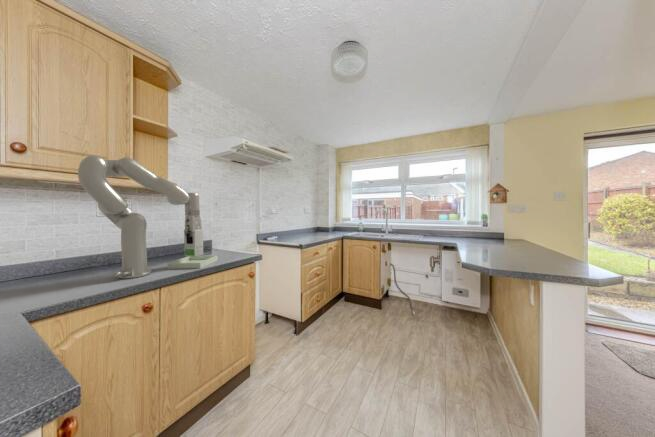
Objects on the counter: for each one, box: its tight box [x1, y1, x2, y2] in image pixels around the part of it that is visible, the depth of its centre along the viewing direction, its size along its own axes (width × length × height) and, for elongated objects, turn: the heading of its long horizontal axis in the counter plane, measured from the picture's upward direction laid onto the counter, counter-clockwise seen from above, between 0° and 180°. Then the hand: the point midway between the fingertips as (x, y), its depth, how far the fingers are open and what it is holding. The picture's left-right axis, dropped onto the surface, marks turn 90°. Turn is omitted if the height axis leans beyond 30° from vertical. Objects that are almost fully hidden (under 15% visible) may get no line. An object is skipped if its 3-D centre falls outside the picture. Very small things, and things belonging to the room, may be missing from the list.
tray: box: [166, 255, 219, 270], centre depth 136 cm, size 20×18×3 cm
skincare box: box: [183, 229, 204, 257], centre depth 135 cm, size 8×7×16 cm
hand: (193, 242), depth 135 cm, fingers closed on skincare box, 7 cm apart
